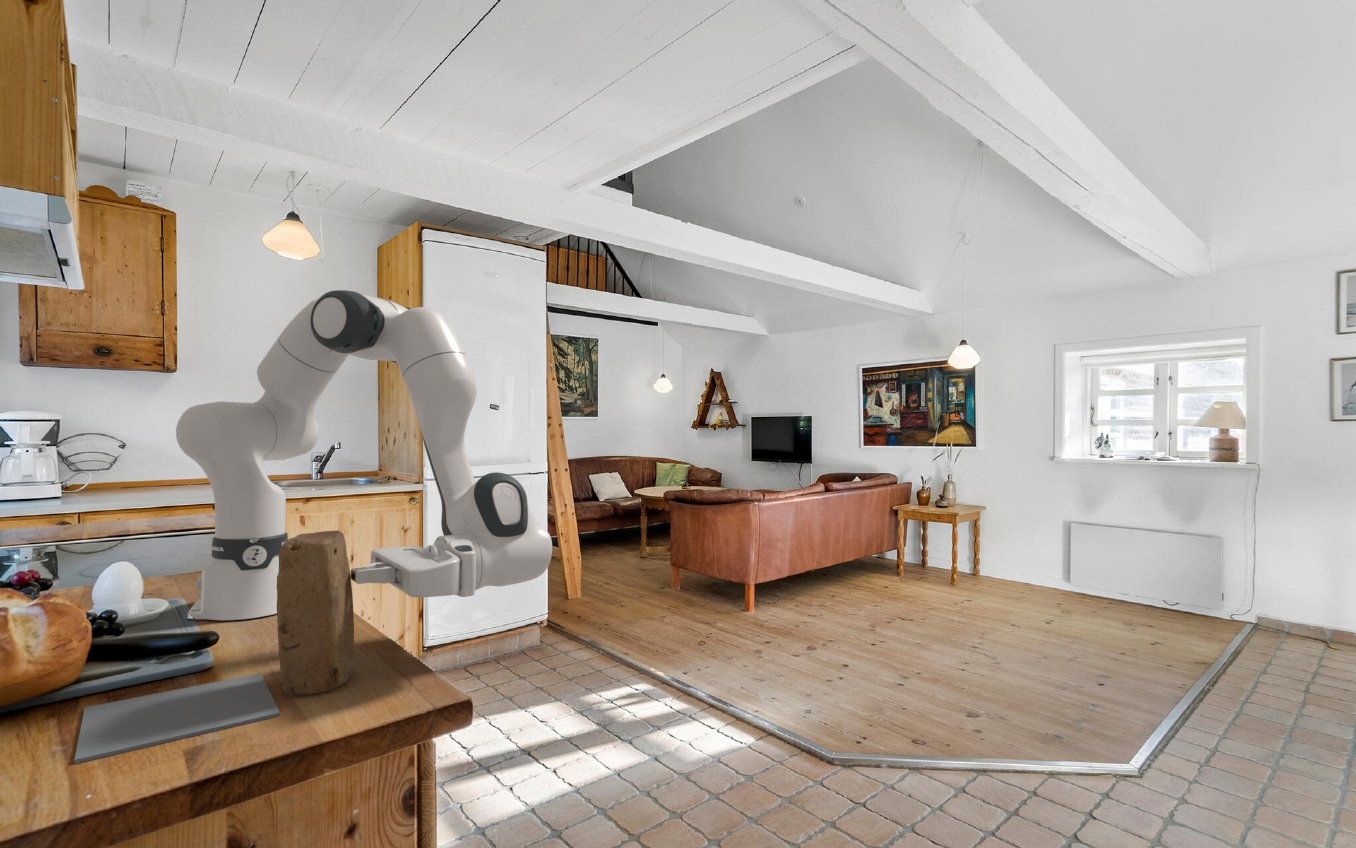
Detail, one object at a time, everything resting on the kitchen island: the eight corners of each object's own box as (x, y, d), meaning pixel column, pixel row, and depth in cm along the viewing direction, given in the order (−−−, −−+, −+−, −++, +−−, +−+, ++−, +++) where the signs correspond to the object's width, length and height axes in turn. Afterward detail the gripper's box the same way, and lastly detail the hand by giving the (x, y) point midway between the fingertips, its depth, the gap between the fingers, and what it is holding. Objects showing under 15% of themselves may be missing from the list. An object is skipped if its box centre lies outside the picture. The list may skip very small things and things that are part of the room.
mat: (84, 710, 78) (84, 707, 78) (260, 676, 90) (260, 673, 90) (74, 764, 66) (74, 760, 66) (279, 716, 77) (279, 712, 77)
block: (339, 694, 83) (332, 538, 83) (274, 702, 81) (267, 543, 81) (362, 664, 94) (355, 525, 94) (305, 670, 92) (298, 530, 92)
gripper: (428, 534, 107) (336, 542, 98) (478, 553, 91) (373, 565, 82) (427, 572, 107) (335, 584, 98) (478, 598, 91) (373, 615, 82)
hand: (353, 576), depth 90 cm, fingers closed
